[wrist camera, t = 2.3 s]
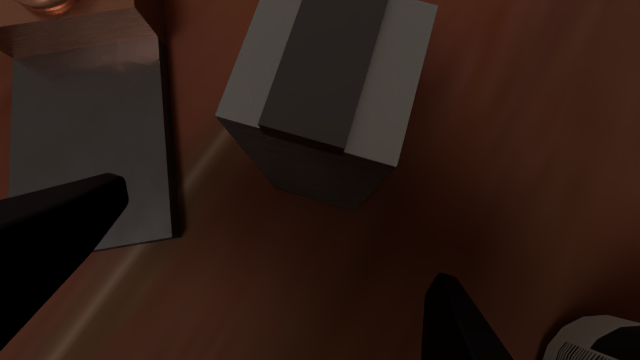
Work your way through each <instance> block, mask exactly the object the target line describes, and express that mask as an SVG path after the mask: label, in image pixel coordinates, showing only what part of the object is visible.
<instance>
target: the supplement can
mask: <svg viewBox="0 0 640 360" xmlns="http://www.w3.org/2000/svg"><path fill="white" fill-rule="evenodd" d="M543 360H640V323H638V322H634V321H630V320H626V319H622V318H618V317H614V316H610V315H598V316H585V317H581V318H579V319H578V320H576V321H574V322H572V323H570V324H568V325H566V326H564V327H562V328H561V330H560V331H559V332H558V333H557V334H556V336H555V337H554V338H553V339H552V340H551V342H550V343H549V344H548V345H547V348H546V351H545V354H544V358H543Z"/></svg>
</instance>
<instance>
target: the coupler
mask: <svg viewBox="0 0 640 360" xmlns="http://www.w3.org/2000/svg"><path fill="white" fill-rule="evenodd" d="M0 51H2V52H3V53H5V54H7V55H8V56H10V57H12V58H13V78H12V107H11V137H10V166H9V195H8V198H10V197H14V196H18V195H22V194H26V193H30V192H34V191H38V190H42V189H46V188H49V187H53V186H57V185H61V184H65V183H69V182H73V181H77V180H81V179H85V178H89V177H92V176H96V175H100V174H104V173H113V174H116V175H119V176H122V177H123V178H124V179H125V181H126V186H127V191H128V196H129V202H128V205H127V207H126V209H125V210H124V211H123V212H122V214H121V215H120V216H119V218H118V219H117V220H116V222H115V223H114V224H113V226H112V227H111V228H110V230H109V231H108V232H107V234H106V235H105V236H104V238H103V239H102V240H101V242H100V243H99V244H98V245H97V247H96V248H95V249H94V250H93V251H92V252H97V251H103V250H109V249H115V248H121V247H127V246H133V245H139V244H145V243H151V242H157V241H163V240H169V239H175V238H181V236H180V223H179V210H178V197H177V183H176V170H175V157H174V144H173V131H172V117H171V104H170V91H169V78H168V65H167V51H166V38H165V25H164V12H163V0H0Z"/></svg>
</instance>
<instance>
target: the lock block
mask: <svg viewBox="0 0 640 360" xmlns="http://www.w3.org/2000/svg"><path fill="white" fill-rule="evenodd" d="M437 7H438V5H434V4H430V3H426V2H422V1H418V0H260V1H259V4H258V6H257V9H256V11H255V14H254V17H253V19H252V22H251V24H250V27H249V29H248V32H247V35H246V37H245V40H244V42H243V45H242V48H241V50H240V53H239V55H238V58H237V60H236V63H235V66H234V68H233V71H232V73H231V76H230V79H229V81H228V84H227V86H226V89H225V91H224V94H223V97H222V99H221V102H220V104H219V107H218V110H217V112H216V115H215V116H216V117H217V119H218V120H219V121H220V122H221V123H222V125H223V126H224V127H225V128H226V129H227V131H228V132H229V133H230V134H231V135H232V137H233V138H234V139H235V140H236V142H237V143H238V144H239V145H240V146H241V148H242V149H243V150H244V151H245V152H246V154H247V155H248V156H249V157H250V158H251V160H252V161H253V162H254V163H255V164H256V166H257V167H258V168H259V169H260V170H261V172H262V173H263V174H264V175H265V176H266V178H267V179H268V180H269V181H270V182H271V184H272V185H273V186H274V187H275V188H277V189H281V190H284V191H287V192H291V193H294V194H298V195H301V196H304V197H308V198H311V199H315V200H318V201H321V202H325V203H328V204H332V205H335V206H338V207H342V208H345V209H349V210H352V211H355V210H356V209H357V208H358V207H359V206H360V205H361V204H362V203H363V202H364V201H365V200H366V199H367V197H368V196H369V195H370V194H371V193H372V192H373V191H374V190H375V189H376V188H377V187H378V186H379V185H380V184H381V183H382V182H383V181H384V180H385V179H386V178H387V177H388V176H389V175H390V174H391V172H392V171H393V170H394V169H395V168H396V167H397V164H398V160H399V156H400V152H401V149H402V145H403V141H404V137H405V133H406V129H407V125H408V121H409V117H410V113H411V109H412V105H413V102H414V98H415V94H416V90H417V86H418V82H419V78H420V74H421V70H422V66H423V62H424V58H425V55H426V51H427V47H428V43H429V39H430V35H431V31H432V27H433V23H434V19H435V15H436V11H437Z"/></svg>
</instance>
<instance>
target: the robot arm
mask: <svg viewBox="0 0 640 360" xmlns="http://www.w3.org/2000/svg"><path fill="white" fill-rule="evenodd" d="M128 202H129V196H128V191H127V186H126V181H125V179H124V178H123V177H122V176H119V175H116V174H113V173H104V174H100V175H96V176H92V177H89V178H85V179H81V180H77V181H73V182H69V183H65V184H61V185H57V186H53V187H49V188H46V189H42V190H38V191H34V192H30V193H26V194H22V195H18V196H14V197H10V198H6V199H3V200H0V351H1V350H2V349H3V348H4V347H5V346H6V345H7V343H8V342H9V341H10V340H11V339H12V338H13V337H14V336H15V335H16V334H17V333H18V332H19V331H20V329H21V328H22V327H23V326H24V325H25V324H26V323H27V322H28V321H29V320H30V319H31V318H32V317H33V315H34V314H35V313H36V312H37V311H38V310H39V309H40V308H41V307H42V306H43V305H44V304H45V302H46V301H47V300H48V299H49V298H50V297H51V296H52V295H53V294H54V293H55V292H56V291H57V290H58V288H59V287H60V286H61V285H62V284H63V283H64V282H65V281H66V280H67V279H68V278H69V277H70V275H71V274H72V273H73V272H74V271H75V270H76V269H77V268H78V267H79V266H80V265H81V264H82V263H83V261H84V260H85V259H86V258H87V257H88V256H89V255H90V254H91V253H92V251H93V250H94V249H95V248H96V247H97V245H98V244H99V243H100V242H101V240H102V239H103V238H104V236H105V235H106V234H107V232H108V231H109V230H110V228H111V227H112V226H113V224H114V223H115V222H116V220H117V219H118V218H119V216H120V215H121V214H122V212H123V211H124V210H125V209H126V207H127V205H128ZM421 360H513V358H512V357H511V355H510V354H509V353H508V351H507V350H506V348H505V347H504V345H503V344H502V343H501V341H500V340H499V338H498V337H497V335H496V334H495V332H494V331H493V330H492V328H491V327H490V325H489V324H488V322H487V321H486V320H485V318H484V317H483V315H482V314H481V312H480V311H479V309H478V308H477V307H476V305H475V304H474V302H473V301H472V299H471V298H470V297H469V295H468V294H467V292H466V291H465V289H464V288H463V286H462V285H461V284H460V282H459V281H458V279H457V278H456V277H454V276H451V275H448V274H445V273H439V274H438V275H437V276H436V278H435V279H434V281H433V282H432V284H431V285H430V287H429V289H428V290H427V292H426V295H425V304H424V319H423V334H422V352H421Z"/></svg>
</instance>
